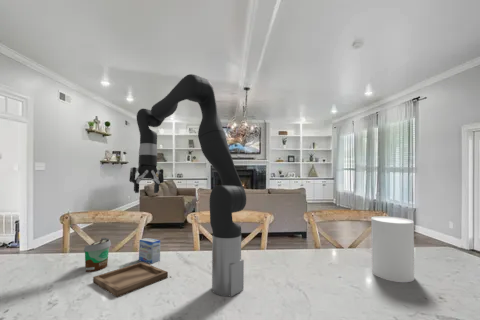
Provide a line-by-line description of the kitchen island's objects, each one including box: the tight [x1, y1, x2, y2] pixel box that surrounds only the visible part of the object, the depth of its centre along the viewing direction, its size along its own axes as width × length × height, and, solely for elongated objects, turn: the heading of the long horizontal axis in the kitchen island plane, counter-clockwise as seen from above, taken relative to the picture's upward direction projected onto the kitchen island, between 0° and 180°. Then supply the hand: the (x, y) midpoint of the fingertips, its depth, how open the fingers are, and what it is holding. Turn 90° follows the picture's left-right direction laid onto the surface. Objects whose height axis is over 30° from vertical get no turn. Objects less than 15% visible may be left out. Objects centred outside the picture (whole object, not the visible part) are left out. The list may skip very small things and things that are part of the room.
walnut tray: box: [92, 261, 169, 298], centre depth 90 cm, size 16×18×2 cm
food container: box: [83, 237, 112, 273], centre depth 102 cm, size 12×6×10 cm, turn 179°
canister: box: [370, 215, 415, 283], centre depth 97 cm, size 14×14×20 cm
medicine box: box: [138, 237, 161, 264], centre depth 109 cm, size 8×4×9 cm, turn 62°
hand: (146, 192), depth 111 cm, fingers open, 8 cm apart
